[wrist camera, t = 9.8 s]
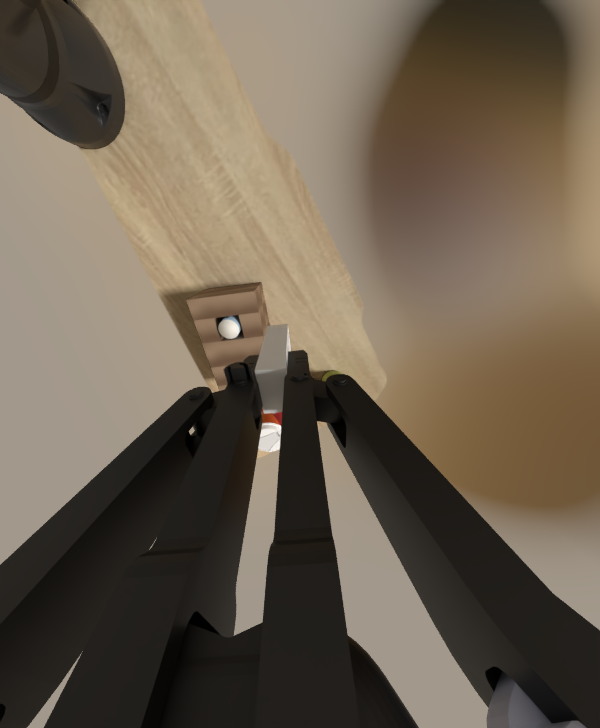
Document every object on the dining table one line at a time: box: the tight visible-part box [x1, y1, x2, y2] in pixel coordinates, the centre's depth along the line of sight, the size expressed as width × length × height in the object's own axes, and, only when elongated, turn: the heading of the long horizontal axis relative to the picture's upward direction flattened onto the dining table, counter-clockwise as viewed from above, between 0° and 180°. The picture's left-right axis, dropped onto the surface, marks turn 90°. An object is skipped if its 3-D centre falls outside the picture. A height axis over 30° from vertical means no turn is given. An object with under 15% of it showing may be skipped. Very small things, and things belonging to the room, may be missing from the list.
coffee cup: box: [258, 407, 282, 452], centre depth 55 cm, size 8×8×15 cm
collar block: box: [186, 282, 270, 391], centre depth 47 cm, size 22×12×10 cm, turn 7°
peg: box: [218, 315, 242, 339], centre depth 44 cm, size 4×4×10 cm
